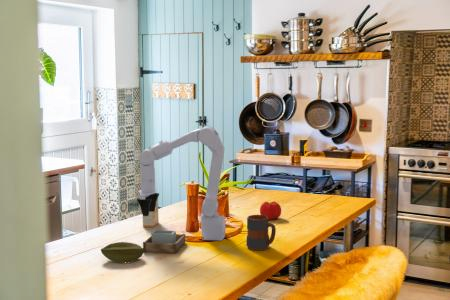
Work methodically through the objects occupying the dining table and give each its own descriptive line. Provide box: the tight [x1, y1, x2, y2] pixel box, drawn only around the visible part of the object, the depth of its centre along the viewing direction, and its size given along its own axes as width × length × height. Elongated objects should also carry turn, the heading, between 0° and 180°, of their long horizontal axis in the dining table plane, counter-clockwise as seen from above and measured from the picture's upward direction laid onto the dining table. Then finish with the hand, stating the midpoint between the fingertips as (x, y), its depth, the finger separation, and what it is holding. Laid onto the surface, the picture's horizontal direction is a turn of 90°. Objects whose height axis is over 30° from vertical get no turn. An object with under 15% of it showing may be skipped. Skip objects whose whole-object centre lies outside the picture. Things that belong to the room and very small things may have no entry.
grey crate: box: [150, 229, 177, 244], centre depth 223 cm, size 8×5×6 cm, turn 79°
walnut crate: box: [142, 233, 186, 255], centre depth 223 cm, size 12×13×4 cm
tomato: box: [259, 200, 282, 221], centre depth 265 cm, size 9×9×8 cm
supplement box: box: [142, 198, 160, 228], centre depth 256 cm, size 8×5×13 cm, turn 168°
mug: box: [246, 214, 277, 251], centre depth 220 cm, size 9×12×12 cm
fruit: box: [100, 241, 145, 264], centre depth 208 cm, size 11×12×7 cm
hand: (148, 213), depth 235 cm, fingers open, 7 cm apart
